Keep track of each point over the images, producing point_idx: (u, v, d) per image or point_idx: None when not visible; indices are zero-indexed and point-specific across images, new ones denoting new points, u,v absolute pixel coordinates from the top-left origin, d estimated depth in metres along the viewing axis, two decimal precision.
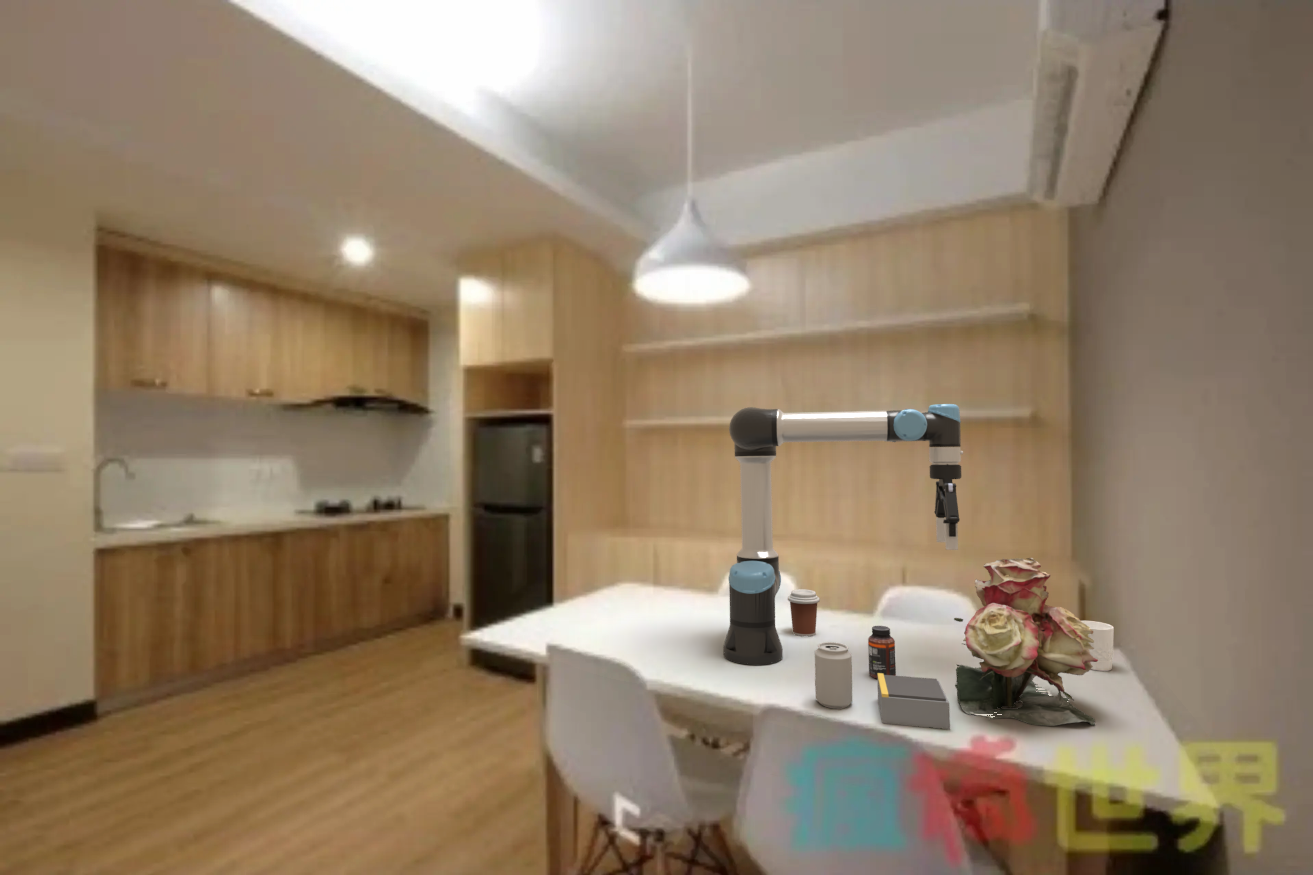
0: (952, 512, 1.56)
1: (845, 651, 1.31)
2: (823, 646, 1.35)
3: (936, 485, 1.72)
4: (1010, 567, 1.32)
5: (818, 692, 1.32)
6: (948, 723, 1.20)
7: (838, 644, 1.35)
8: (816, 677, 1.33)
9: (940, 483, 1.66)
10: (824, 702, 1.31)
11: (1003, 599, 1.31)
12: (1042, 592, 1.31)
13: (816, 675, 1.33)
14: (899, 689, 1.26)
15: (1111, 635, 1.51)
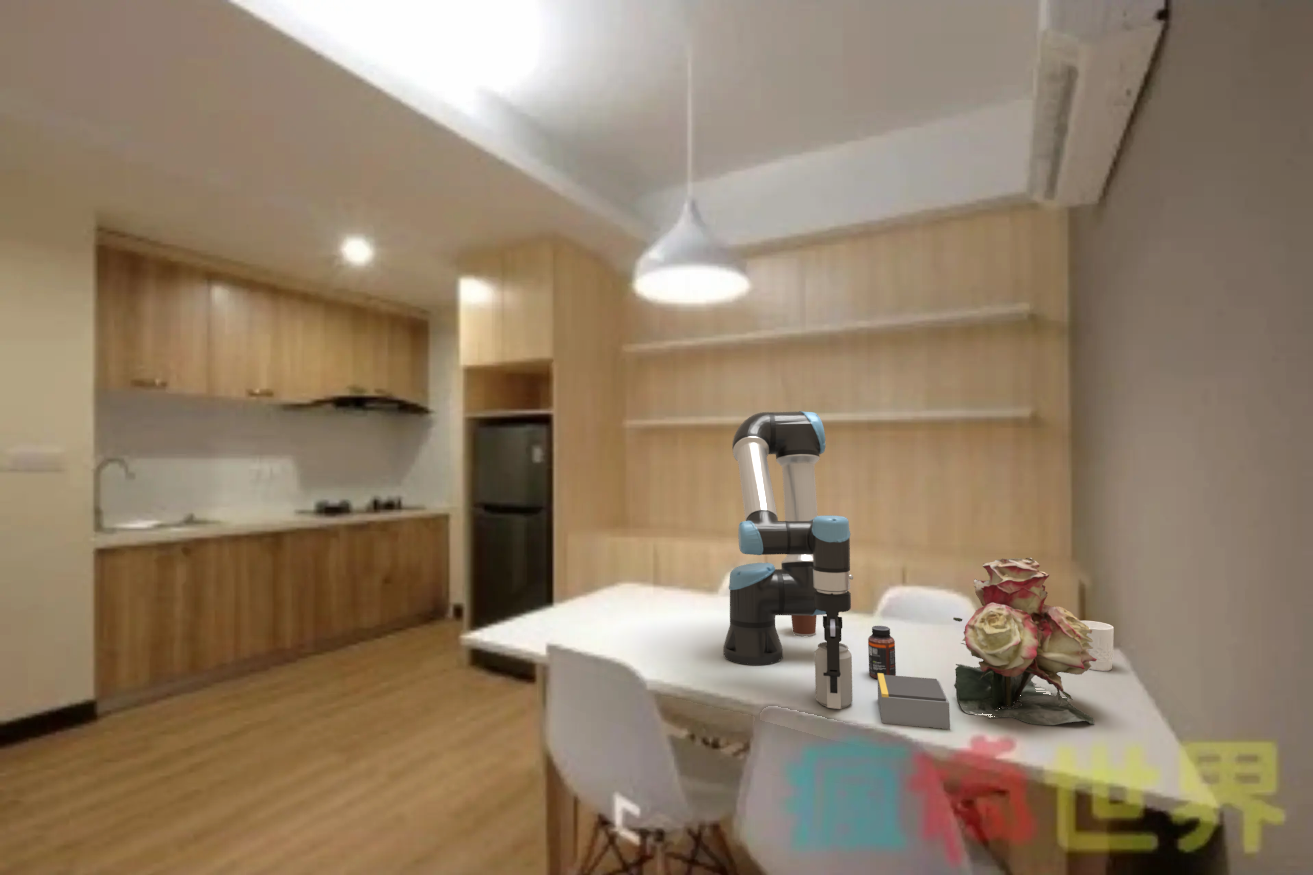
0: (832, 665, 1.26)
1: (845, 651, 1.31)
2: (823, 646, 1.35)
3: None
4: (1009, 567, 1.33)
5: (818, 691, 1.32)
6: (948, 723, 1.20)
7: None
8: (816, 677, 1.33)
9: None
10: (824, 702, 1.31)
11: (1002, 599, 1.32)
12: (1041, 592, 1.31)
13: (816, 675, 1.33)
14: (899, 689, 1.26)
15: (1111, 635, 1.51)
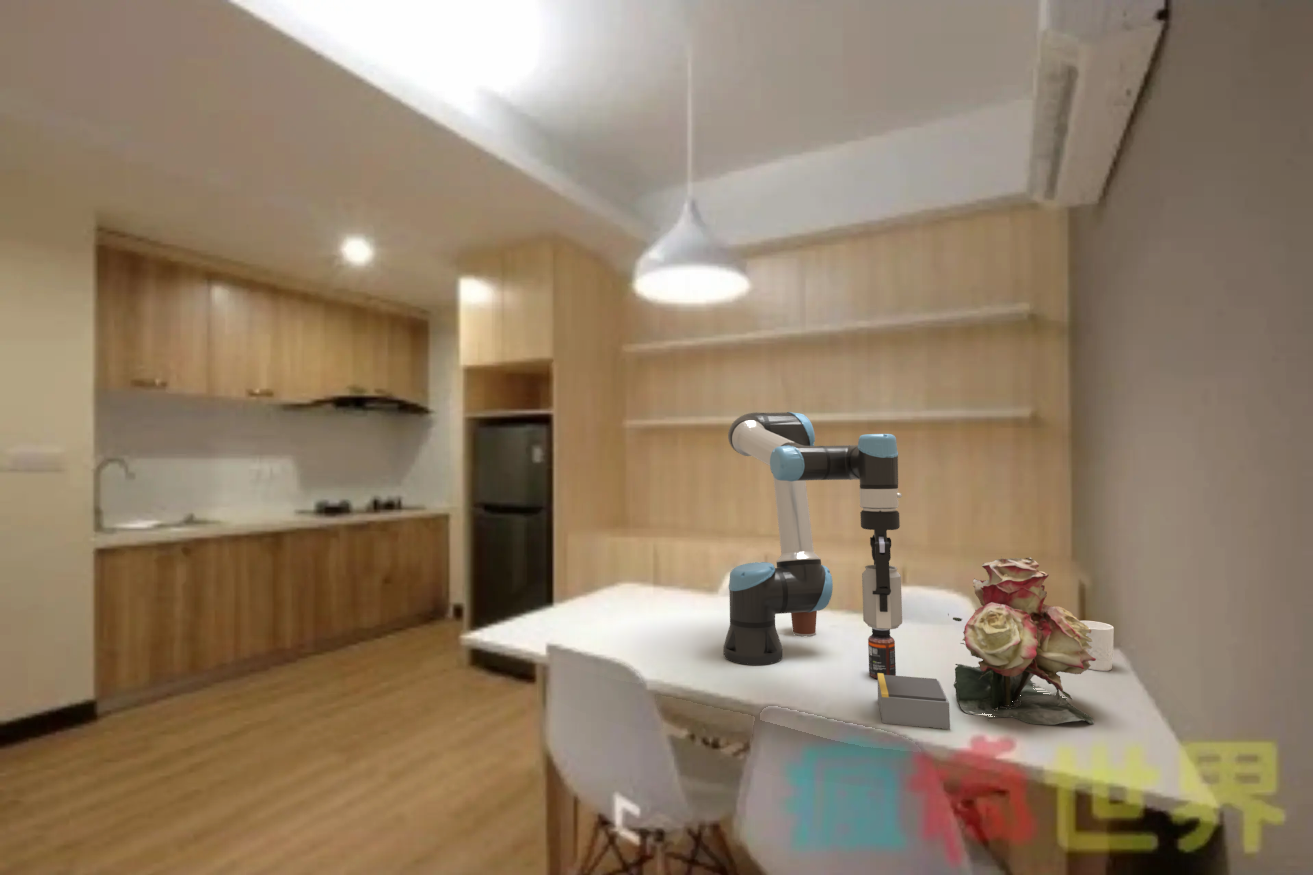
0: (882, 582, 1.23)
1: (894, 570, 1.27)
2: (870, 568, 1.31)
3: None
4: (1008, 567, 1.33)
5: (866, 613, 1.28)
6: (948, 723, 1.20)
7: None
8: (864, 599, 1.29)
9: (874, 530, 1.31)
10: (873, 623, 1.27)
11: (1002, 599, 1.32)
12: (1040, 591, 1.32)
13: (864, 596, 1.29)
14: (899, 689, 1.26)
15: (1111, 635, 1.51)
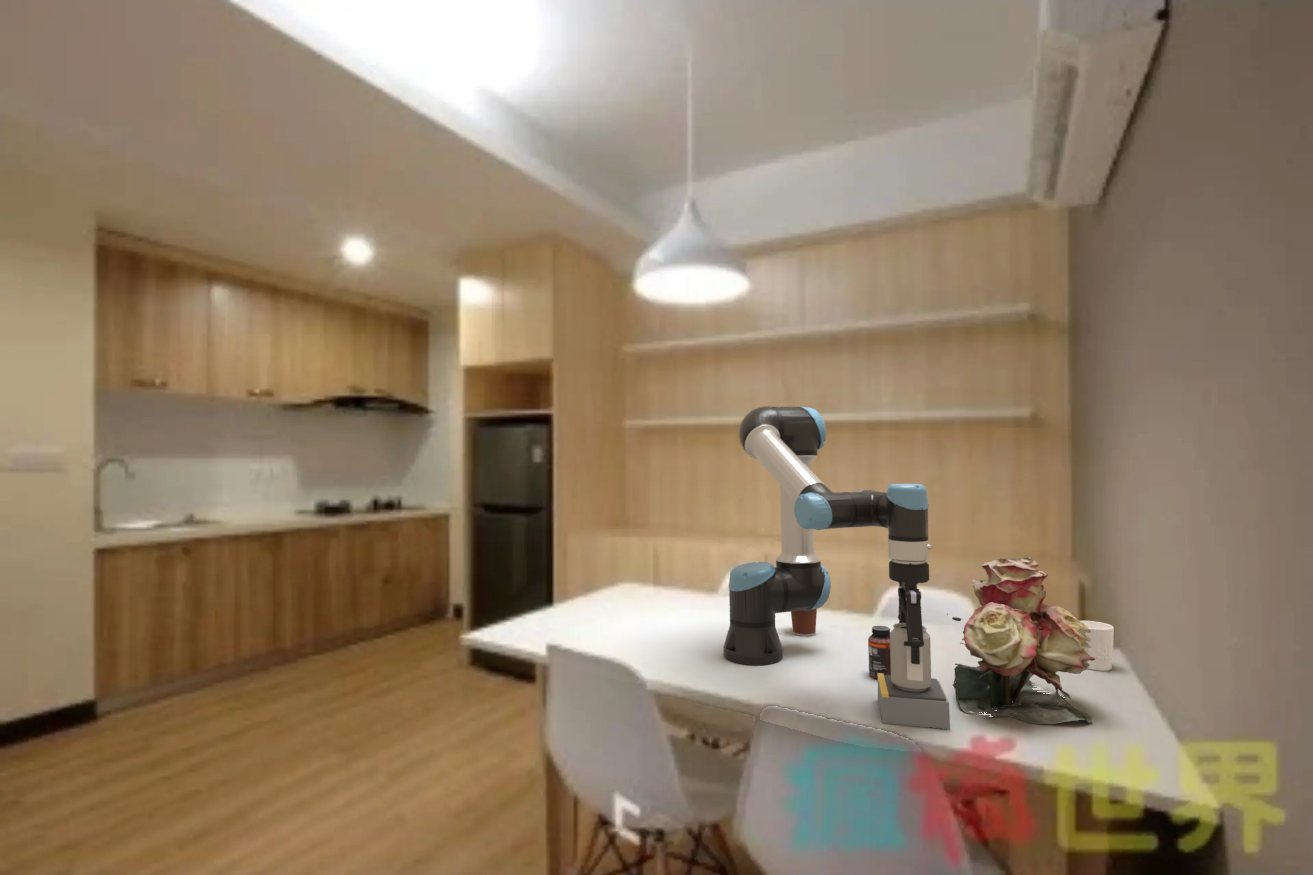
0: (915, 633, 1.19)
1: (924, 631, 1.25)
2: (898, 627, 1.29)
3: (899, 584, 1.34)
4: (1008, 567, 1.33)
5: (895, 674, 1.26)
6: (948, 723, 1.20)
7: None
8: (892, 659, 1.27)
9: (902, 584, 1.29)
10: (902, 685, 1.25)
11: (1001, 599, 1.32)
12: (1040, 591, 1.32)
13: (892, 657, 1.27)
14: (899, 689, 1.26)
15: (1111, 635, 1.51)
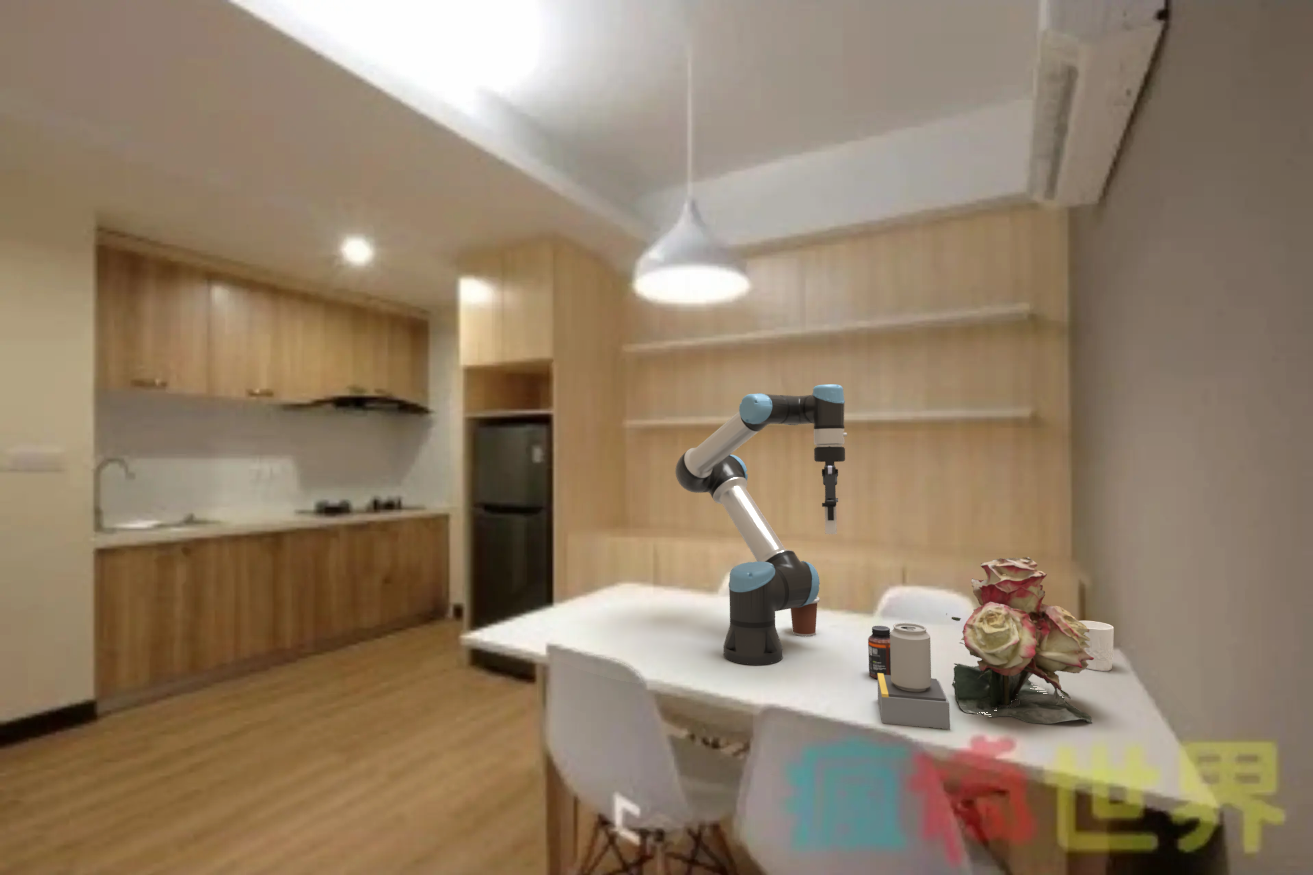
0: (829, 495, 1.51)
1: (924, 631, 1.25)
2: (898, 627, 1.29)
3: None
4: (1007, 567, 1.33)
5: (895, 674, 1.26)
6: (948, 723, 1.20)
7: (914, 625, 1.30)
8: (892, 659, 1.27)
9: None
10: (902, 685, 1.25)
11: (1000, 598, 1.32)
12: (1039, 591, 1.32)
13: (892, 657, 1.27)
14: (899, 689, 1.26)
15: (1111, 635, 1.51)
